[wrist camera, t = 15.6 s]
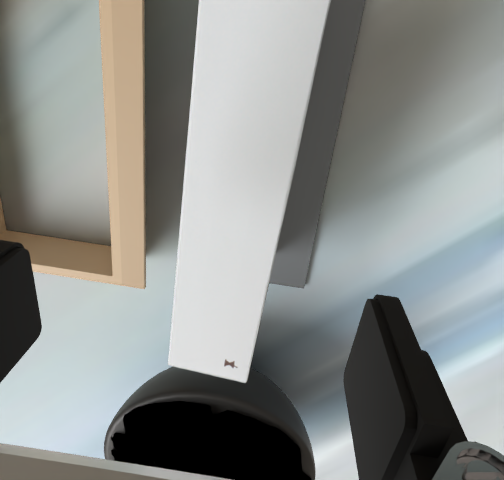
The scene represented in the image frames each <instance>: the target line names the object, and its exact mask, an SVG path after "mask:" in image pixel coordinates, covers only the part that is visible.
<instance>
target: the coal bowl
mask: <svg viewBox="0 0 504 480" xmlns="http://www.w3.org/2000/svg"><path fill="white" fill-rule="evenodd" d="M104 454H105V459H106V460H112V461H119V462H125V463H131V464H138V465H144V466H151V467H157V468H163V469H170V470H176V471H182V472H188V473H194V474H200V475H207V476H213V477H219V478H225V479H231V480H315V463H314V457H313V451H312V447H311V443H310V440H309V437H308V434H307V431H306V428H305V426H304V424H303V422H302V420H301V418H300V416H299V414H298V412H297V411H296V409H295V407H294V406H293V404H292V403H291V401H290V400H289V399H288V398H287V396H286V395H285V394H284V393H283V392H282V391H281V390H280V389H279V387H277V386H276V385H275V384H274V383H273V382H272V381H271V380H269V379H268V378H267V377H265V376H264V375H262V374H261V373H259V372H257V371H255V370H253V369H251V368H250V371H249V376H248V380H247V382H246V383H243V382H239V381H234V380H230V379H226V378H221V377H217V376H213V375H208V374H204V373H200V372H196V371H191V370H187V369H182V368H178V367H171V368H169V369H167V370H165V371H163V372H161V373H159V374H157V375H156V376H154V377H153V378H151V379H150V380H148V381H147V382H146V383H144V384H143V385H142V386H141V387H140V388H139V389H138V390H136V391H135V392H134V393H133V394H132V395H131V396H130V397H129V399H128V400H127V401H126V402H125V403H124V405H123V406H122V407H121V408H120V410H119V411H118V412H117V414H116V416H115V417H114V419H113V421H112V422H111V424H110V426H109V428H108V430H107V433H106V437H105V442H104Z"/></svg>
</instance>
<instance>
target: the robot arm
mask: <svg viewBox="0 0 504 480" xmlns="http://www.w3.org/2000/svg"><path fill="white" fill-rule="evenodd" d="M41 328H42V325H41V319H40V313H39V307H38V301H37V295H36V289H35V283H34V277H33V271H32V265H31V259H30V253H29V251H28V250H27V249H25V248H24V246H23V245H22V244H21V243H19V242H12V241H5V240H0V382H1V381H2V380H3V379H4V378H5V377H6V375H7V374H8V373H9V372H10V371H11V369H12V368H13V367H14V366H15V365H16V363H17V362H18V361H19V360H20V359H21V357H22V356H23V355H24V354H25V353H26V352H27V350H28V349H29V348H30V347H31V346H32V344H33V343H34V342H35V341H36V340H37V338H38V337H39V335H40V332H41ZM344 388H345V394H346V401H347V407H348V413H349V419H350V426H351V432H352V438H353V444H354V451H355V457H356V463H357V469H358V476H359V480H504V456H503V455H502V454H501V453H499V452H497V451H496V450H494V449H492V448H490V447H488V446H486V445H483V444H480V443H477V442H469V441H468V440H467V438H466V436H465V434H464V431H463V429H462V427H461V425H460V422H459V420H458V418H457V416H456V413H455V411H454V409H453V407H452V405H451V402H450V400H449V398H448V396H447V393H446V391H445V389H444V387H443V384H442V382H441V380H440V378H439V375H438V373H437V371H436V369H435V366H434V364H433V362H432V360H431V357H430V356H429V354H428V353H427V352H426V351H423V350H421V349H420V346H419V344H418V342H417V339H416V337H415V335H414V332H413V330H412V328H411V325H410V323H409V321H408V318H407V316H406V314H405V311H404V309H403V306H402V304H401V302H400V300H399V298H397V297H391V296H384V295H375V297H374V299H368V300H367V301H366V304H365V307H364V310H363V313H362V317H361V320H360V323H359V326H358V329H357V333H356V336H355V339H354V342H353V346H352V349H351V352H350V355H349V359H348V362H347V365H346V368H345V372H344ZM0 480H231V479H225V478H219V477H213V476H207V475H200V474H194V473H188V472H182V471H176V470H170V469H163V468H157V467H151V466H144V465H138V464H131V463H125V462H119V461H112V460H106V459H100V458H93V457H87V456H80V455H74V454H67V453H61V452H54V451H48V450H41V449H35V448H29V447H22V446H15V445H9V444H2V443H0Z"/></svg>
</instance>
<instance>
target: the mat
mask: <svg viewBox="0 0 504 480" xmlns="http://www.w3.org/2000/svg"><path fill="white" fill-rule="evenodd" d="M364 5H365V0H331V3H330V7H329V11H328V15H327V20H326V24H325V29H324V34H323V38H322V43H321V48H320V52H319V57H318V62H317V66H316V71H315V76H314V80H313V85H312V90H311V94H310V99H309V104H308V109H307V113H306V118H305V123H304V128H303V132H302V137H301V142H300V147H299V151H298V156H297V161H296V166H295V170H294V175H293V179H292V183H291V188H290V192H289V197H288V201H287V205H286V210H285V214H284V219H283V223H282V228H281V232H280V236H279V241H278V245H277V250H276V254H275V259H274V263H273V268H272V272H271V276H270V281H269V283H272V284H279V285H285V286H292V287H298V288H304V286H305V281H306V276H307V272H308V267H309V262H310V258H311V253H312V248H313V244H314V239H315V234H316V230H317V225H318V220H319V216H320V211H321V206H322V201H323V197H324V192H325V187H326V183H327V178H328V173H329V169H330V164H331V159H332V155H333V150H334V145H335V141H336V136H337V131H338V126H339V122H340V117H341V112H342V108H343V103H344V98H345V94H346V89H347V84H348V80H349V75H350V70H351V66H352V61H353V56H354V52H355V47H356V42H357V37H358V33H359V28H360V23H361V19H362V14H363V9H364Z"/></svg>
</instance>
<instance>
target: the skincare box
mask: <svg viewBox="0 0 504 480" xmlns="http://www.w3.org/2000/svg"><path fill="white" fill-rule="evenodd" d="M330 3H331V0H199V6H198V18H197V31H196V43H195V54H194V66H193V79H192V91H191V103H190V114H189V126H188V137H187V149H186V160H185V172H184V184H183V195H182V207H181V218H180V230H179V242H178V253H177V265H176V276H175V288H174V299H173V311H172V322H171V334H170V345H169V357H168V365H170V366H173V367H178V368H182V369H187V370H191V371H196V372H200V373H204V374H208V375H213V376H217V377H221V378H226V379H230V380H234V381H239V382H243V383H246V382H247V380H248V376H249V371H250V366H251V362H252V357H253V353H254V348H255V344H256V339H257V334H258V330H259V326H260V321H261V317H262V312H263V308H264V303H265V299H266V294H267V290H268V285H269V281H270V276H271V272H272V268H273V263H274V259H275V254H276V250H277V245H278V241H279V236H280V232H281V228H282V223H283V219H284V214H285V210H286V205H287V201H288V197H289V192H290V188H291V183H292V179H293V175H294V170H295V166H296V161H297V156H298V151H299V147H300V142H301V137H302V132H303V128H304V123H305V118H306V113H307V109H308V104H309V99H310V94H311V90H312V85H313V80H314V76H315V71H316V66H317V62H318V57H319V52H320V48H321V43H322V38H323V34H324V29H325V24H326V20H327V15H328V11H329V7H330Z"/></svg>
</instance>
